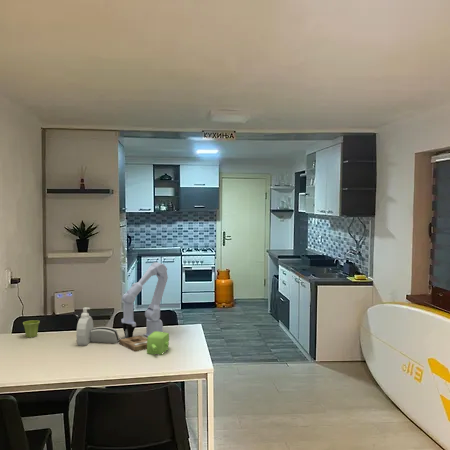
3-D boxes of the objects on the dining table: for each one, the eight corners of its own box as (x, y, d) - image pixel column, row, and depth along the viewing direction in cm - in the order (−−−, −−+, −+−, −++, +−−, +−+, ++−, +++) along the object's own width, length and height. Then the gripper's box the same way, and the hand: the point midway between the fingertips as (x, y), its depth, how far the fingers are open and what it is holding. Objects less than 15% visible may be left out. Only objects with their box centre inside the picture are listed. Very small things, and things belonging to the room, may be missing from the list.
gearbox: (161, 359, 224) (162, 341, 223) (143, 356, 226) (144, 339, 225) (172, 347, 241) (173, 331, 241) (156, 345, 243) (156, 329, 243)
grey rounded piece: (120, 340, 254) (118, 326, 250) (117, 345, 249) (115, 330, 246) (94, 339, 257) (91, 324, 253) (90, 344, 252) (87, 329, 249)
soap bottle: (85, 346, 242) (85, 311, 242) (76, 346, 242) (75, 311, 241) (94, 338, 258) (94, 304, 258) (85, 338, 258) (85, 305, 257)
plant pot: (22, 335, 264) (22, 321, 264) (39, 333, 268) (39, 319, 268) (22, 339, 256) (22, 324, 256) (40, 337, 260) (40, 323, 260)
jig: (139, 339, 256) (139, 334, 256) (155, 346, 242) (155, 341, 242) (119, 343, 247) (119, 338, 247) (134, 351, 234) (134, 346, 234)
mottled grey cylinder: (129, 337, 259) (129, 327, 259) (132, 339, 257) (132, 329, 256) (124, 338, 257) (124, 328, 257) (127, 340, 254) (127, 330, 254)
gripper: (116, 312, 259) (116, 334, 260) (128, 316, 248) (128, 340, 249) (127, 310, 264) (127, 332, 264) (139, 314, 253) (139, 338, 253)
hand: (128, 336), depth 257 cm, fingers closed on mottled grey cylinder, 4 cm apart
